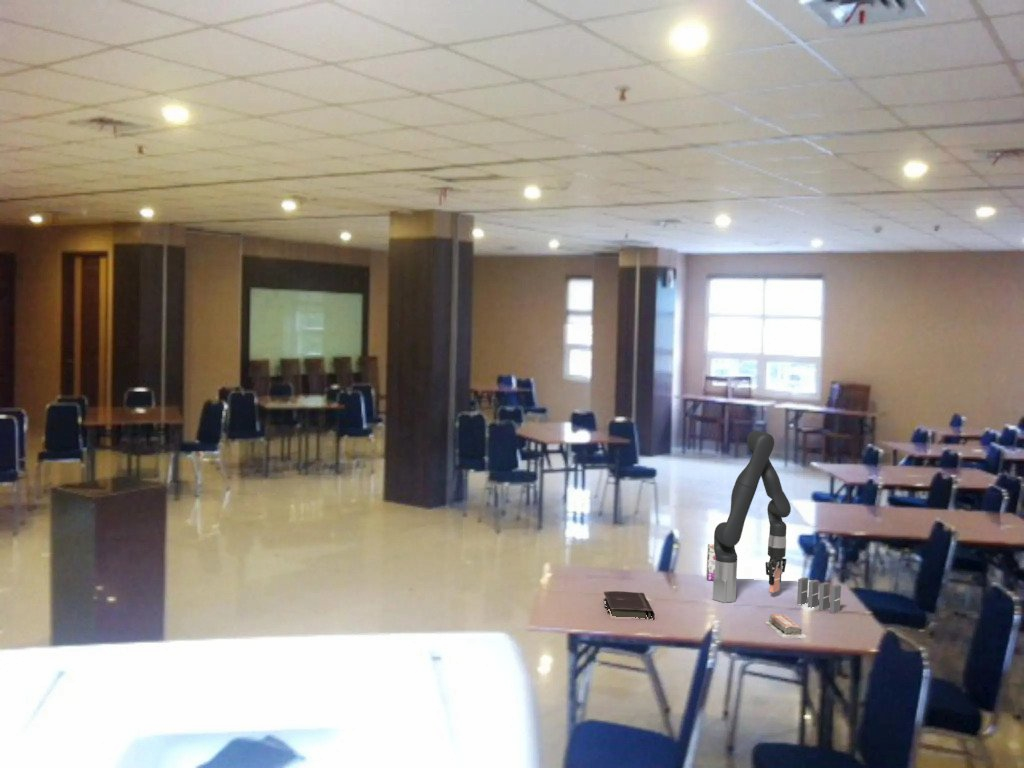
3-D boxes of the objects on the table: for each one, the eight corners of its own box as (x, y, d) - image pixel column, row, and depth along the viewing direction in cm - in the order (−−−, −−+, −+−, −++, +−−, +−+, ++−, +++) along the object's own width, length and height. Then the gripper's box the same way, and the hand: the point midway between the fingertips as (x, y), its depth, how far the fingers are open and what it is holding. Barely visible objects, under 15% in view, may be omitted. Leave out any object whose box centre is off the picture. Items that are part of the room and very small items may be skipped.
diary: (644, 603, 404) (645, 591, 404) (654, 622, 379) (655, 609, 379) (601, 602, 404) (601, 590, 404) (608, 620, 379) (608, 608, 379)
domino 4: (828, 608, 401) (830, 583, 400) (822, 611, 397) (823, 585, 396) (824, 607, 402) (825, 582, 401) (818, 609, 398) (819, 584, 398)
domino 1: (779, 590, 417) (780, 566, 417) (773, 592, 414) (774, 567, 413) (775, 589, 419) (777, 565, 418) (769, 591, 415) (770, 566, 414)
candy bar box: (707, 580, 440) (708, 546, 439) (706, 578, 445) (707, 543, 444) (731, 582, 439) (733, 547, 438) (730, 579, 444) (731, 544, 443)
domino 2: (807, 603, 408) (808, 578, 407) (801, 605, 404) (802, 580, 404) (803, 602, 409) (804, 577, 408) (797, 604, 406) (798, 579, 405)
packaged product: (764, 613, 378) (788, 612, 379) (764, 624, 378) (788, 624, 379) (782, 627, 360) (807, 627, 361) (781, 639, 360) (806, 639, 361)
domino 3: (817, 605, 404) (819, 580, 404) (811, 608, 401) (812, 582, 400) (813, 604, 406) (814, 579, 405) (807, 607, 402) (808, 581, 401)
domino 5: (839, 611, 397) (841, 585, 396) (833, 613, 393) (835, 587, 393) (835, 610, 398) (836, 584, 398) (829, 612, 395) (830, 586, 394)
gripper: (777, 541, 423) (775, 579, 424) (760, 545, 413) (758, 584, 414) (793, 544, 417) (790, 582, 418) (776, 549, 407) (773, 588, 408)
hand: (774, 583), depth 416 cm, fingers closed on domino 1, 5 cm apart
